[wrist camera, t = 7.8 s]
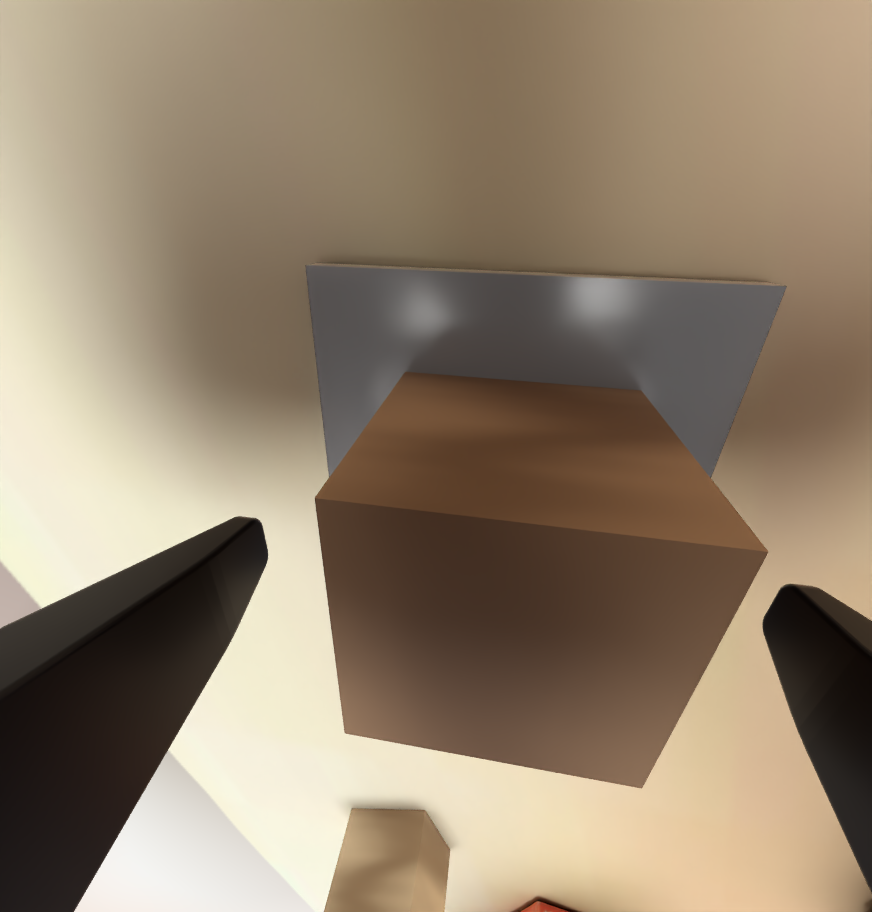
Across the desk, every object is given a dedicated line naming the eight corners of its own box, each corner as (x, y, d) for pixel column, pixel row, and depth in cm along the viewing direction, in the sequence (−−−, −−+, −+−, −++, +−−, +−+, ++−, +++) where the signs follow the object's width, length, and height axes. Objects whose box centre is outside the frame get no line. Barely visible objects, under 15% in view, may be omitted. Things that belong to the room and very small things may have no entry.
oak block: (425, 808, 20) (408, 927, 17) (450, 847, 22) (439, 963, 19) (352, 806, 22) (322, 918, 18) (381, 844, 23) (358, 953, 20)
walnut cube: (641, 390, 9) (767, 551, 4) (591, 570, 11) (642, 788, 7) (404, 371, 9) (314, 497, 5) (405, 546, 12) (345, 733, 7)
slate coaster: (768, 281, 8) (786, 286, 8) (644, 612, 12) (650, 629, 12) (317, 262, 9) (305, 265, 9) (348, 573, 14) (341, 586, 13)
